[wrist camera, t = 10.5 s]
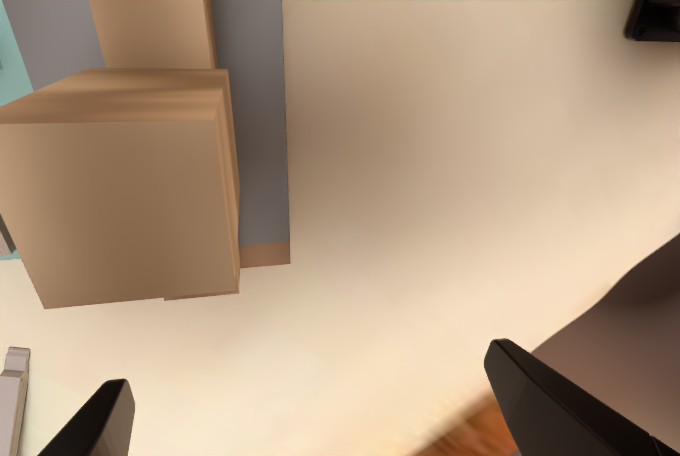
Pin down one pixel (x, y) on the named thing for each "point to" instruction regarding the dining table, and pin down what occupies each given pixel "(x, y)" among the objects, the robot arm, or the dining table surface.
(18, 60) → the tray
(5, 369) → the caliper
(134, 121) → the tan inverted t block
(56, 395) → the dining table surface
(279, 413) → the dining table surface
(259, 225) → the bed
